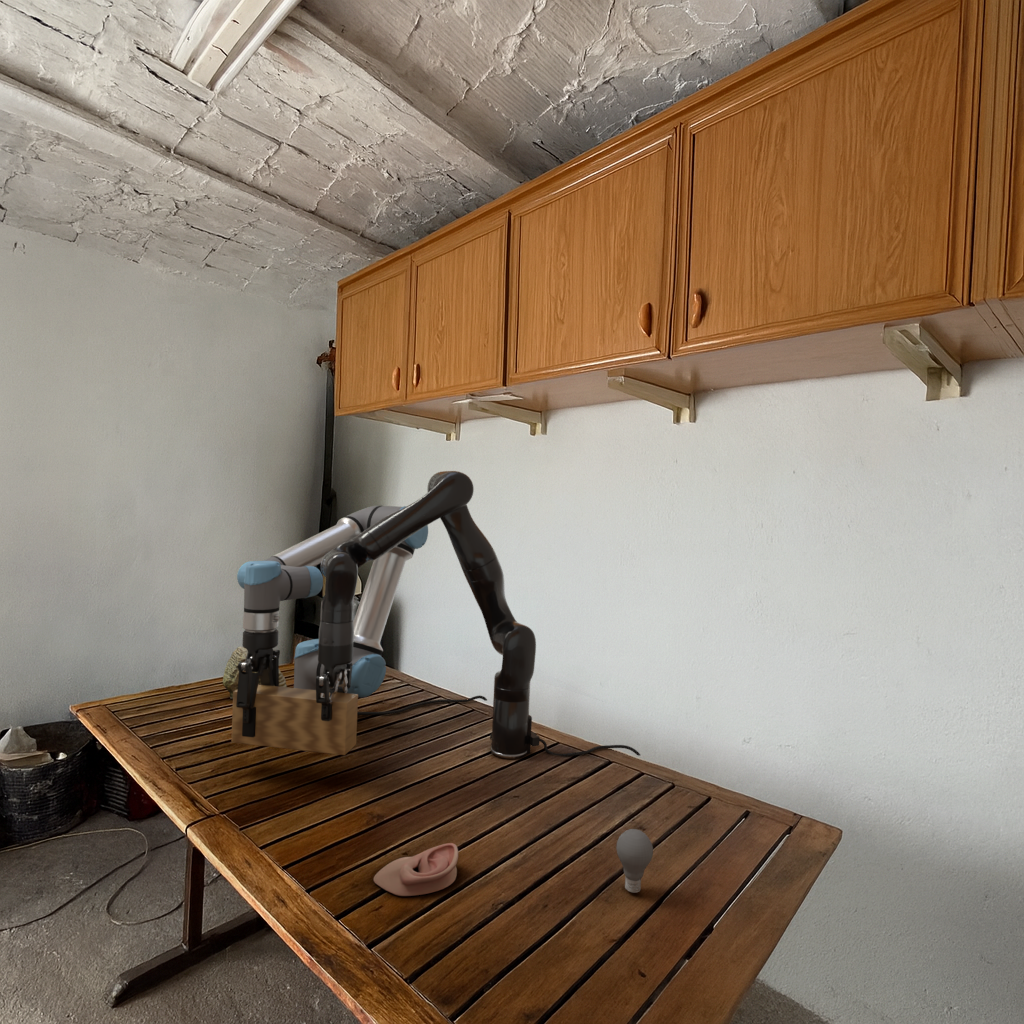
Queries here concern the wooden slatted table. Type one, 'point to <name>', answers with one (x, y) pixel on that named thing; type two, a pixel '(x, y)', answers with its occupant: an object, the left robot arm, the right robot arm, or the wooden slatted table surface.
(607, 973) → the wooden slatted table surface
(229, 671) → the fossil
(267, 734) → the box
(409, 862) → the anatomical model
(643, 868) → the light bulb
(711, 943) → the wooden slatted table surface
